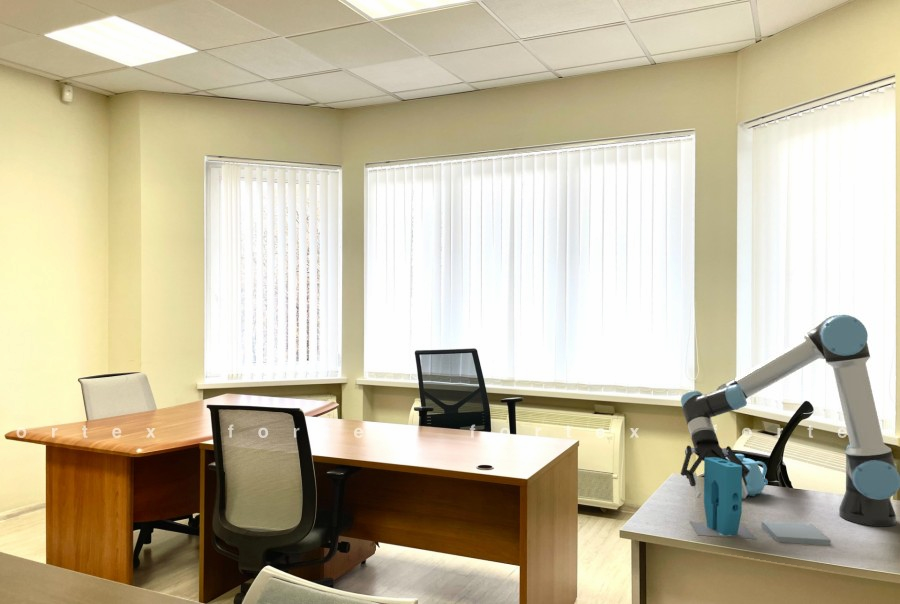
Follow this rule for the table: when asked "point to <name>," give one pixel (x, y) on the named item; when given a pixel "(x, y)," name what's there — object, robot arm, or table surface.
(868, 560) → the table surface
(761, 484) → the decorative pot
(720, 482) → the block
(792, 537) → the pad
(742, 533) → the mat
